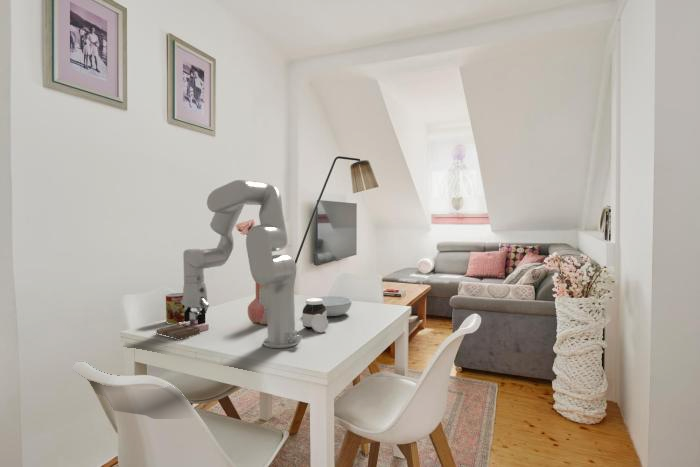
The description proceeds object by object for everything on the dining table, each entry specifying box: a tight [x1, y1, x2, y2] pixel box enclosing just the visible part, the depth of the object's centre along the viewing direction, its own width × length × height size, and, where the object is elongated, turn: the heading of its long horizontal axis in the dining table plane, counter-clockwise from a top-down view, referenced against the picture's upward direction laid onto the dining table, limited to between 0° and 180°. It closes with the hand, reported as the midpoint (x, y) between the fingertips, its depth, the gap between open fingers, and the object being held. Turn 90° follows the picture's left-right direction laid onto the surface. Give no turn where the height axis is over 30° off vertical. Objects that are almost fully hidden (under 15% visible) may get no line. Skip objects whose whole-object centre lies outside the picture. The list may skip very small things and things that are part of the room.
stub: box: [181, 310, 210, 333], centre depth 157 cm, size 10×5×7 cm, turn 58°
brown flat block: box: [155, 323, 201, 340], centre depth 151 cm, size 14×9×2 cm, turn 58°
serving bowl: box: [314, 295, 352, 317], centre depth 180 cm, size 21×21×7 cm
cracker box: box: [258, 284, 269, 326], centre depth 169 cm, size 14×6×21 cm, turn 164°
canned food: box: [165, 292, 185, 324], centre depth 171 cm, size 8×8×12 cm
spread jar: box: [301, 297, 329, 333], centre depth 155 cm, size 12×11×12 cm
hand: (194, 322), depth 157 cm, fingers open, 7 cm apart
